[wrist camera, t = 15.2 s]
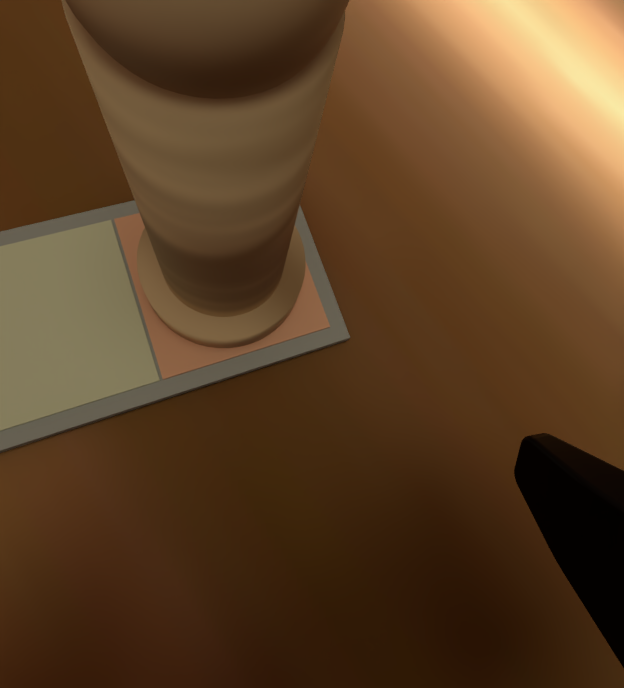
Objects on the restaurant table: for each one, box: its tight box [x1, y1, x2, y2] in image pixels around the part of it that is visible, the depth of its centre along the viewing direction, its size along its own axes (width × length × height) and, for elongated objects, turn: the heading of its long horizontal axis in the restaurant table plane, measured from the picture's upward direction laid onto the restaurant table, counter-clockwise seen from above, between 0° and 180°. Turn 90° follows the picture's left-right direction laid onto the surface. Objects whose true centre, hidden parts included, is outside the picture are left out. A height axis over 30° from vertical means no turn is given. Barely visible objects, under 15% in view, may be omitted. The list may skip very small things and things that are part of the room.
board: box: [0, 200, 350, 453], centre depth 16 cm, size 18×7×1 cm, turn 110°
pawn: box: [62, 0, 349, 348], centre depth 11 cm, size 5×5×13 cm
